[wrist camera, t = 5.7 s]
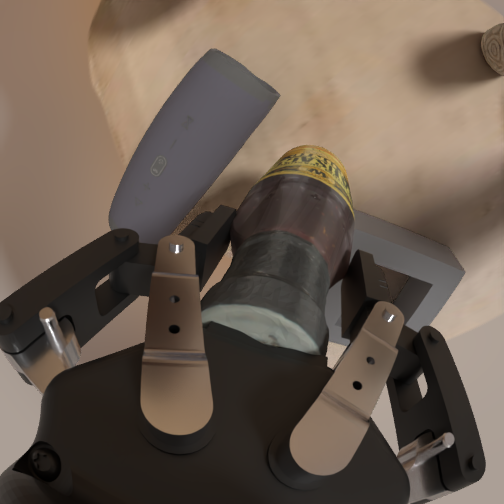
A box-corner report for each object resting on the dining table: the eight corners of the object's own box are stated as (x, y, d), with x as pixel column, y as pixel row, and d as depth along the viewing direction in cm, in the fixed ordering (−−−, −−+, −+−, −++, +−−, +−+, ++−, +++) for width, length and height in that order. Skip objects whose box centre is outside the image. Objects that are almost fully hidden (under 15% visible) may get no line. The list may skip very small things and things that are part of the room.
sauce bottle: (356, 159, 22) (436, 332, 5) (328, 219, 25) (319, 431, 9) (286, 130, 22) (171, 226, 6) (263, 192, 26) (154, 373, 9)
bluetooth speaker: (227, 53, 26) (190, 36, 17) (290, 100, 27) (277, 98, 19) (134, 189, 37) (89, 216, 29) (181, 229, 39) (144, 267, 31)
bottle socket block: (449, 247, 31) (467, 276, 25) (396, 330, 39) (402, 363, 34) (346, 206, 32) (351, 230, 26) (304, 304, 41) (300, 337, 35)
